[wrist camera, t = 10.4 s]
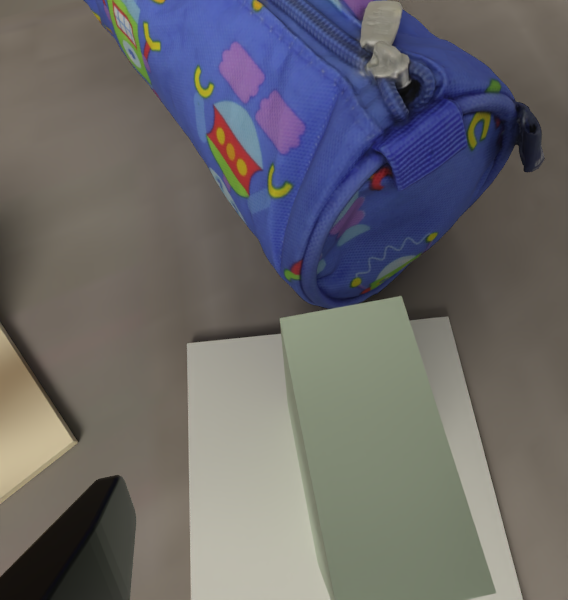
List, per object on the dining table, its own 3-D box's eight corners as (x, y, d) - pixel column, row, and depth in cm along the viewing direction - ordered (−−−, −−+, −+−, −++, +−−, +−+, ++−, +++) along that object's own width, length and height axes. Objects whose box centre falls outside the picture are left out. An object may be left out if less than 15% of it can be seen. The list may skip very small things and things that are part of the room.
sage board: (392, 547, 15) (496, 592, 7) (317, 563, 15) (340, 628, 7) (353, 392, 17) (401, 295, 9) (287, 405, 17) (279, 318, 9)
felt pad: (524, 626, 14) (530, 629, 14) (194, 664, 14) (192, 668, 14) (445, 320, 18) (448, 316, 18) (189, 346, 18) (187, 343, 18)
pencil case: (484, 251, 20) (636, 44, 11) (317, 363, 18) (336, 225, 9) (217, -19, 27) (180, -267, 18) (82, 41, 25) (-30, -202, 17)
